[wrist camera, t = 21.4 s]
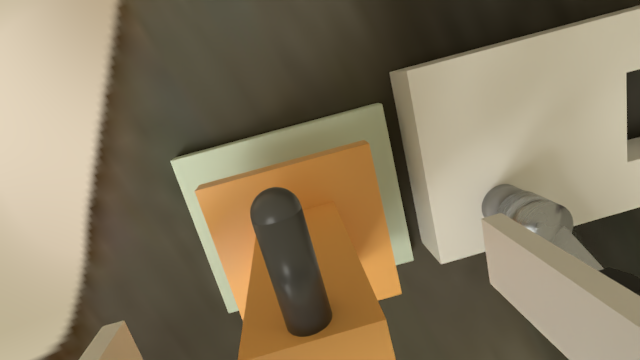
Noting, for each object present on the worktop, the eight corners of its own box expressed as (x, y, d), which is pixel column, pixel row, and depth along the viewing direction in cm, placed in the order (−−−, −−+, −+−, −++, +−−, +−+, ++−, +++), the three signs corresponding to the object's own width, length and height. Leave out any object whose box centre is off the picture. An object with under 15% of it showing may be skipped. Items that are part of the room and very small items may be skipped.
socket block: (421, 242, 24) (451, 275, 20) (389, 72, 21) (416, 70, 17) (760, 145, 25) (855, 158, 21) (777, -32, 22) (893, -58, 18)
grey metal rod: (486, 217, 19) (509, 233, 17) (524, 180, 19) (552, 192, 17) (679, 410, 24) (713, 439, 22) (711, 384, 24) (749, 411, 22)
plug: (254, 290, 23) (224, 552, 10) (203, 144, 20) (76, 253, 7) (379, 254, 23) (501, 466, 10) (345, 105, 20) (453, 148, 8)
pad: (230, 304, 24) (228, 313, 23) (175, 157, 21) (170, 161, 20) (408, 252, 24) (413, 260, 23) (377, 102, 21) (382, 103, 20)
